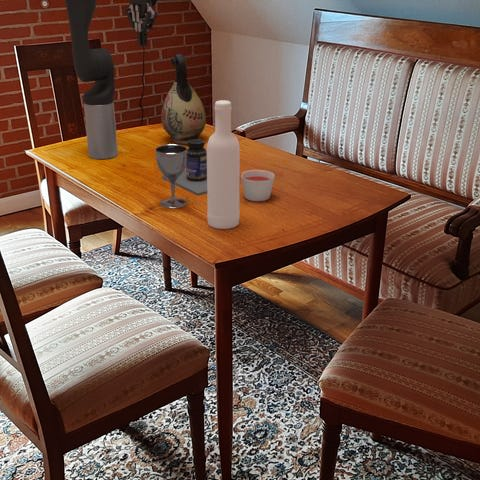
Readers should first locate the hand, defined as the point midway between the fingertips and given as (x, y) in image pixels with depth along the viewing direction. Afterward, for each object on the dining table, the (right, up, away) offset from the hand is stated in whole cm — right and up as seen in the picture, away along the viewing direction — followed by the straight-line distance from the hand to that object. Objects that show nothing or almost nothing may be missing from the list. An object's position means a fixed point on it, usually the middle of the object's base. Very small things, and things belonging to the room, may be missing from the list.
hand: (142, 45), depth 170 cm
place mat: (+14, -36, +10) cm, 40 cm away
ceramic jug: (+7, -19, +47) cm, 51 cm away
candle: (+31, -42, 0) cm, 52 cm away
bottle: (+23, -49, -16) cm, 56 cm away
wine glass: (+9, -43, -5) cm, 45 cm away
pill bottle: (+14, -35, +11) cm, 40 cm away
